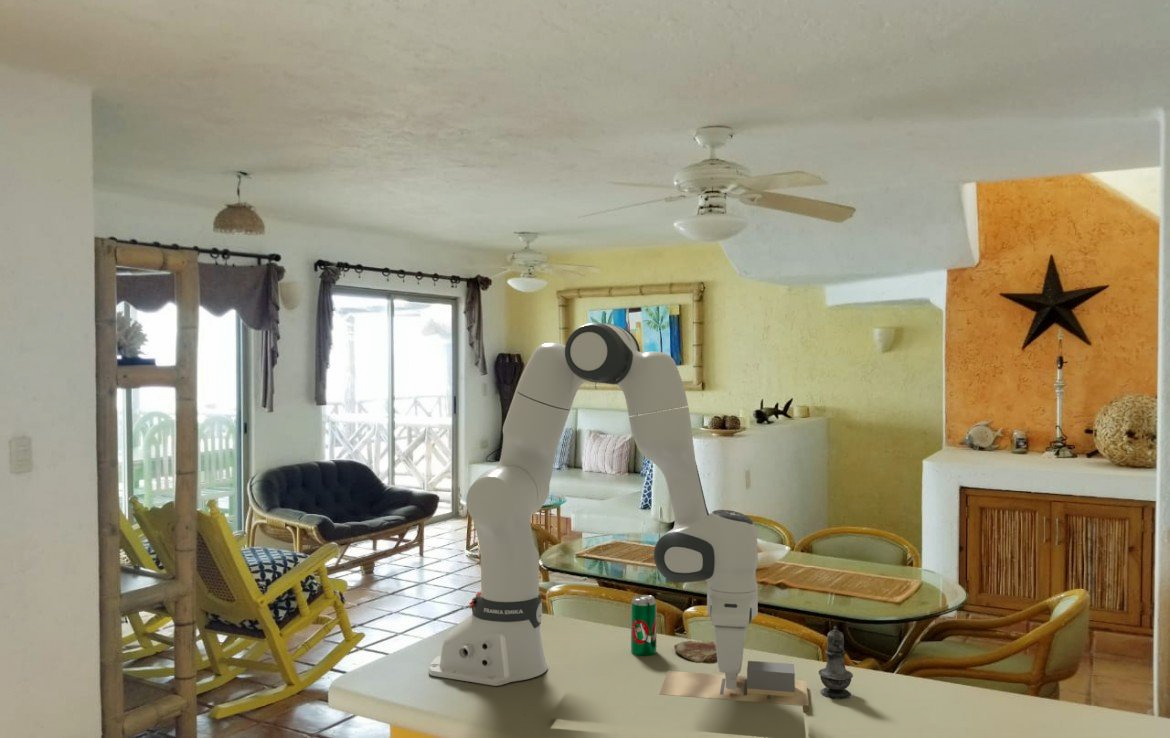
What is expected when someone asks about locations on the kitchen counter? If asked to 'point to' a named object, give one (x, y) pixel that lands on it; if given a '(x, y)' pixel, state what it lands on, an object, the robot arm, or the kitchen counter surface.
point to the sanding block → (771, 678)
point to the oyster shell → (697, 651)
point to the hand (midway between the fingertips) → (732, 682)
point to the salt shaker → (835, 668)
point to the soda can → (643, 625)
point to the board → (716, 689)
